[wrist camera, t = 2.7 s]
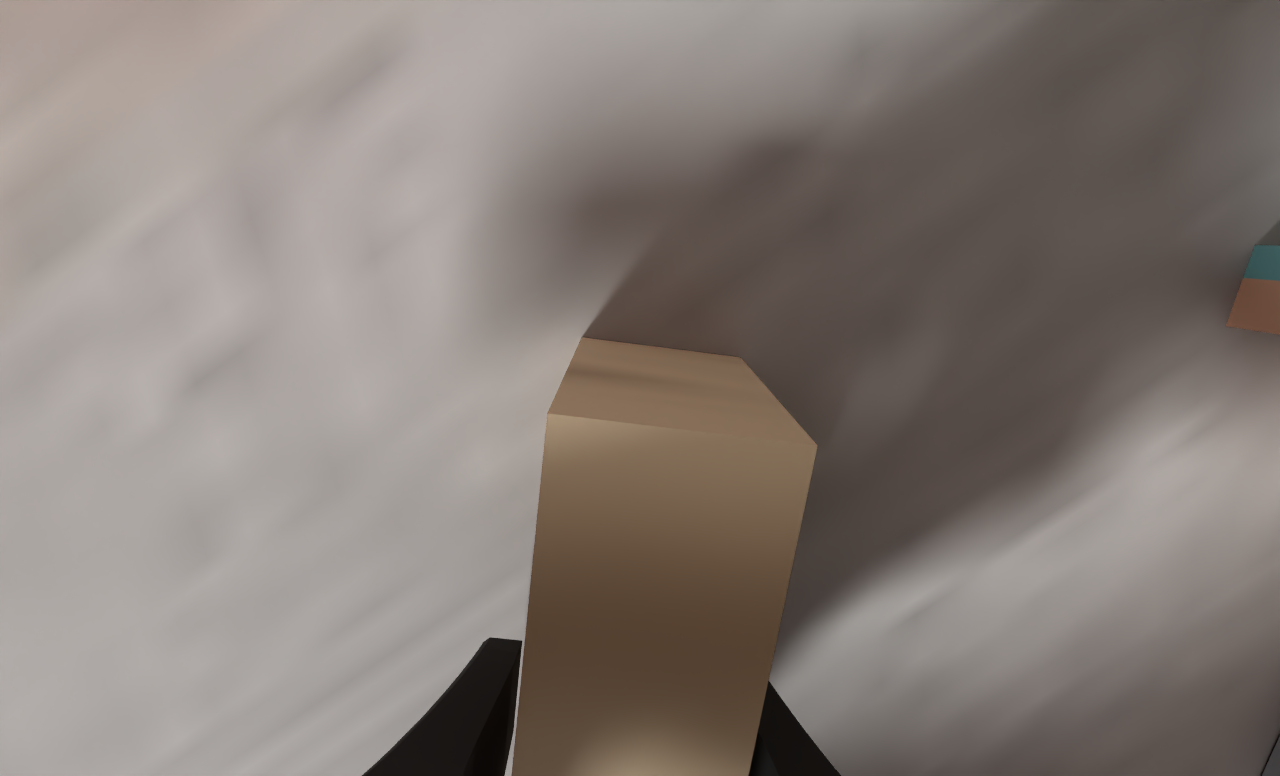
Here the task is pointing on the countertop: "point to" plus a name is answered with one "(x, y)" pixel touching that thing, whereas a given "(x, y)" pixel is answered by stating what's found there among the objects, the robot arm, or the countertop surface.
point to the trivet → (1273, 762)
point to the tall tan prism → (657, 565)
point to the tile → (1259, 293)
